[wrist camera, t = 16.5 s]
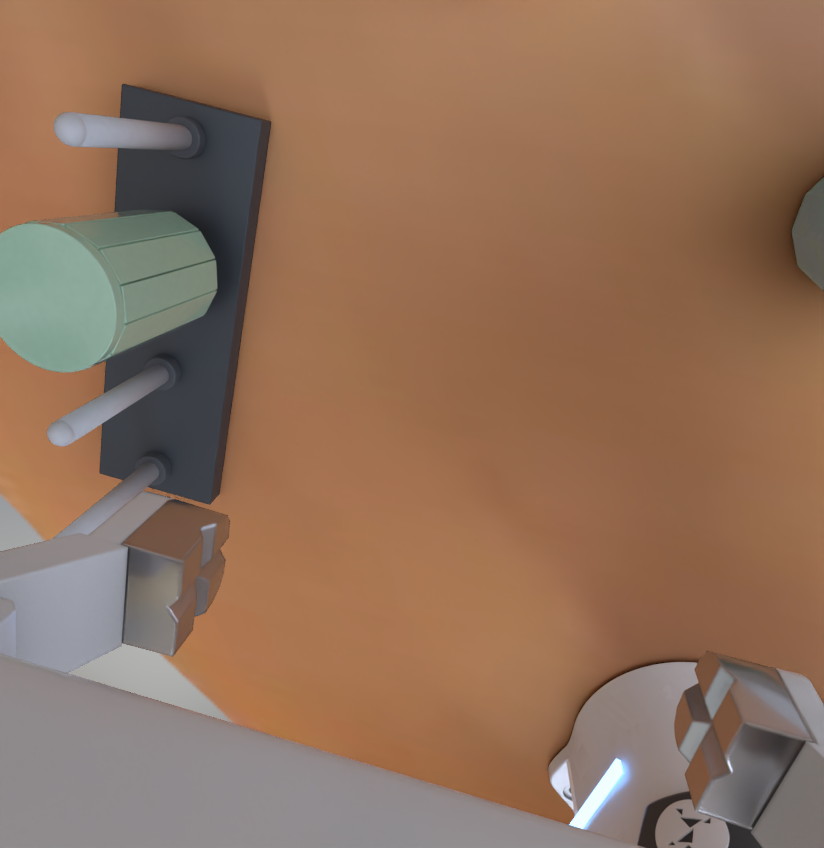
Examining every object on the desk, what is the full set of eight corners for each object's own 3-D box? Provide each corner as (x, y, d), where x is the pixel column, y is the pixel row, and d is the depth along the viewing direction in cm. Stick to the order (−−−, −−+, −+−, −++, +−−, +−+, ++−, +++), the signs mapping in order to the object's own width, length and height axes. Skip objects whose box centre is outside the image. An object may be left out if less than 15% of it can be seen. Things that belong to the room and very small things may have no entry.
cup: (177, 188, 33) (57, 195, 25) (237, 297, 35) (144, 338, 27) (89, 242, 35) (-49, 264, 27) (150, 343, 37) (37, 394, 28)
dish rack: (219, 494, 44) (121, 606, 33) (111, 463, 44) (-22, 564, 33) (271, 121, 35) (161, 103, 24) (136, 86, 35) (-34, 52, 24)
